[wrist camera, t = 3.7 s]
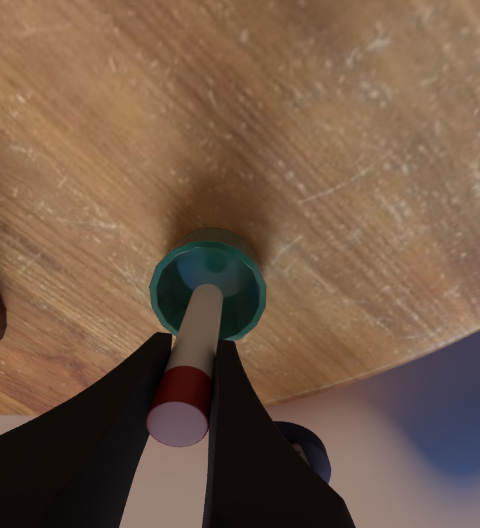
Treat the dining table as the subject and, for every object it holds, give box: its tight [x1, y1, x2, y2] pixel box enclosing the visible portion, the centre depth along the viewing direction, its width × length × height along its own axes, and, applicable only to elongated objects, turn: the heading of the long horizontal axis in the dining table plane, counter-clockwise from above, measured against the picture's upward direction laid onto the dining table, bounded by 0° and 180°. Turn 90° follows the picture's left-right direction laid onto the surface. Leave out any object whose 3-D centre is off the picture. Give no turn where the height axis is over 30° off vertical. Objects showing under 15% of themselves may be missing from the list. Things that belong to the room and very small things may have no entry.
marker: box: [145, 284, 223, 447], centre depth 12 cm, size 2×2×8 cm
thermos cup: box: [149, 228, 266, 341], centre depth 18 cm, size 7×7×4 cm
